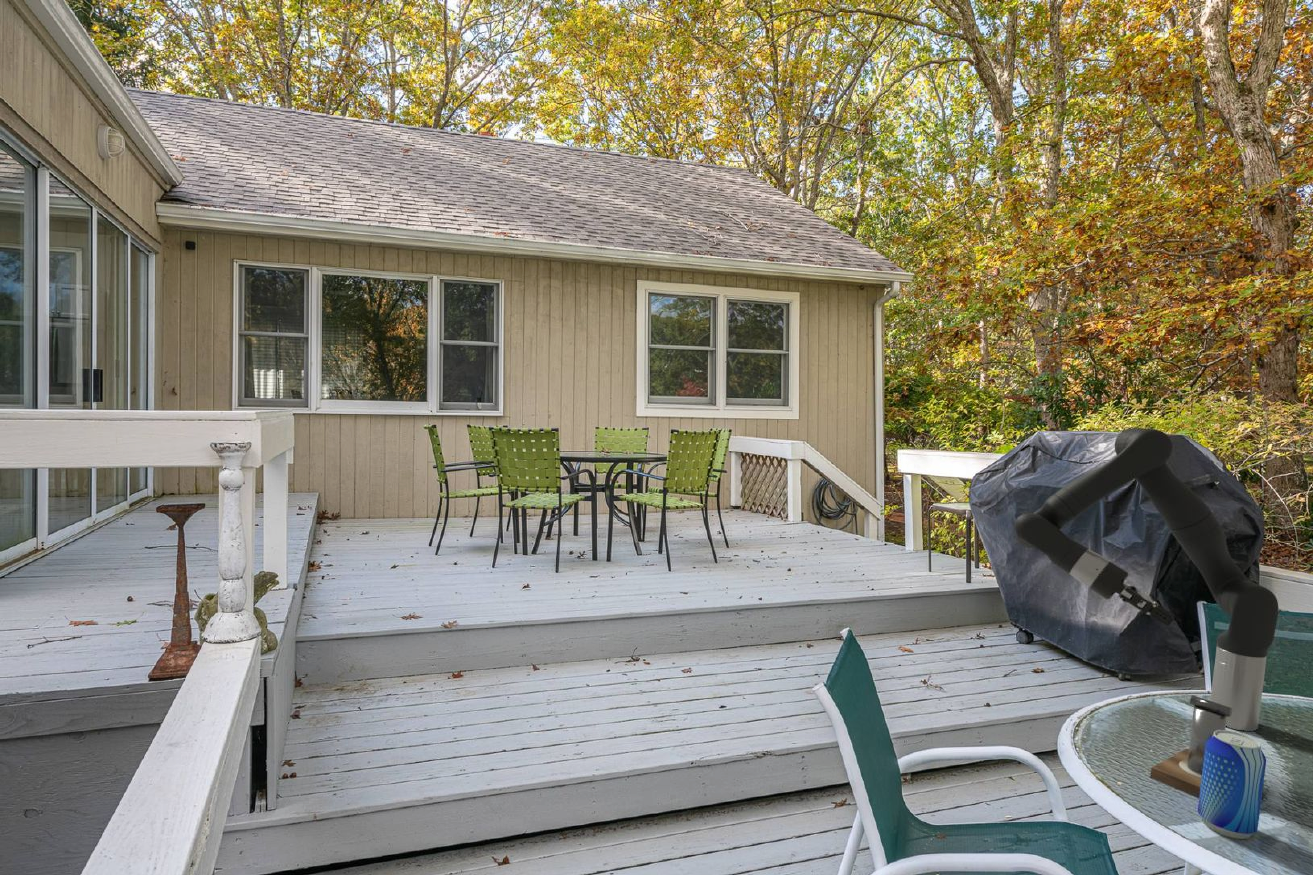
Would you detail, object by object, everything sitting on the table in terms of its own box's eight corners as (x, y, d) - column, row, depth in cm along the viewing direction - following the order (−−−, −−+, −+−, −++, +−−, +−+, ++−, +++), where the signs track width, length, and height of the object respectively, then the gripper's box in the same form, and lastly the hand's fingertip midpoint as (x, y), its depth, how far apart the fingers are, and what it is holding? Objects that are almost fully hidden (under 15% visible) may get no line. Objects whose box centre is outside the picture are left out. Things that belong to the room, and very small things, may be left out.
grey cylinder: (1190, 759, 154) (1198, 692, 153) (1227, 774, 149) (1236, 705, 148) (1178, 765, 151) (1186, 697, 150) (1216, 780, 146) (1225, 710, 145)
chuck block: (1185, 757, 159) (1186, 747, 159) (1254, 784, 150) (1256, 774, 149) (1150, 777, 150) (1151, 766, 150) (1222, 807, 140) (1223, 795, 140)
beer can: (1185, 813, 138) (1195, 726, 136) (1228, 813, 138) (1239, 727, 137) (1223, 841, 129) (1234, 750, 128) (1269, 841, 130) (1281, 750, 129)
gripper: (1106, 560, 166) (1183, 608, 157) (1111, 560, 177) (1183, 605, 169) (1084, 588, 167) (1160, 637, 159) (1091, 586, 179) (1161, 632, 170)
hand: (1172, 621), depth 164 cm, fingers open, 8 cm apart
